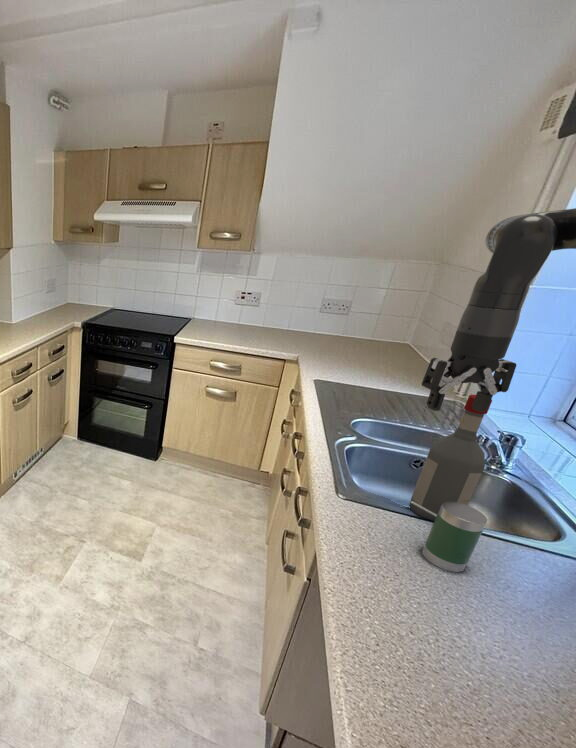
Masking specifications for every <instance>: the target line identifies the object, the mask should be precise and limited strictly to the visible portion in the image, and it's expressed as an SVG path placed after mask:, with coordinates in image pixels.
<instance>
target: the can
mask: <svg viewBox="0 0 576 748" xmlns="http://www.w3.org/2000/svg"><path fill="white" fill-rule="evenodd" d="M487 522H488V517H487V516H486V515H485V514H484V513H482V512H481V511H480V510H478V509H476V508H474V507H472V506H469V505H468V506H467V505H464V504H461V503H457V502H444V503H443V504H442V506H441V508H440V510H439V512H438V514H437V517H436V519H435V521H433V524H432V526H431V529H430V531H429V534H428V535H427V538H426V541H425V542H424V546H423V549H422V552H421V553H422V555H423V557H424V558H425V559H426V560H427V561H428V562H429V563H431V564H433V565H434V566H435V567H438V568H440V569H443V570H445V571H448V572H452V573H461V572H463V571H464V570H465V568H466V566H467V565H468V563H469V561H470V559H471V557H472V554H473V553H474V550H475V548H476V546H477V544H478V542H479V540H480V538H481V536H482V534H483V532H484V529H485V526H486V524H487Z"/></svg>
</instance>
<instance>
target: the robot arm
mask: <svg viewBox="0 0 576 748" xmlns="http://www.w3.org/2000/svg"><path fill="white" fill-rule="evenodd" d="M484 243H485V247H486V249H487V250H488V251H489V252H490V253H491V254H492V255H491V258H490V260H489V262H488V265H487V267H486V269H485V272H484V273H482V274H480V276H478V278H477V279H476V281H475V283H474V286H473V288H472V291H471V294H470V296H469V299H468V302H467V305H466V307H465V309H464V310H463V312H462V315H461V317H460V320H459V323H458V326H457V329H456V332H455V334H454V337H453V340H452V343H451V346H450V352H451V355H450V357H449V358H448V359H447V360H446V359H440V358H437V357H432V358H431V359H430V361H429V364H428V366H427V368H426V371H425V374H424V376H423V379H422V381H421V386H422V387H424V388H426V389H428V390H429V391H430V392H429V396H428V397H427V401H426V406H427V408H428V409H430V410H432V411H435V412H439V411H441V408H442V405H443V402H444V399H445V396H446V394H445V393H447V392H448V391H449V390H451V388H455V387H458V386H459V385H460V384H468V383H469V384H470V383H473V384H477V387H478V389H479V390H477V392H476V394H475V395H476V397H475V399H474V402H473V404H472V409H474V410H476V411H478V412H485V410H486V409H487V408H488V406H489V404H490V401H491V399H492V400H493V397H494V396H496V394H497V393H501V392H502V393H506V392H508V391H509V389H510V385H511V383H512V380H513V377H514V374H515V372H516V369H517V363H516V362H513V361H510V360H508V359H504V358H505V357H506V354H507V351H508V349H509V347H510V345H511V342H512V339H513V337H514V334H515V331H516V329H517V327H518V324H519V320H520V316H521V312H522V308H523V306H524V304H525V301H526V299H527V296H528V294H529V290H530V287H531V284H532V282H533V280H534V279H535V278H536V276H537V275H538V274H539V273H540V271H541V270H542V268H543V266H544V264H545V262H546V261H547V260H548V258H549V256H550V254H551V253H552V252H553V251H561V250H573V249H574V250H576V207H575V208H567V209H561V210H560V209H559V210H549V211H541V212H534V213H533V212H532V213H525V214H519V215H513V216H509V217H507V218H504V219H502V220H501V221H499V222H497V223H495V225H494V226H493V227H491V228H490V229H489V231H488V232H487V234H486V236H485V242H484Z"/></svg>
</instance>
